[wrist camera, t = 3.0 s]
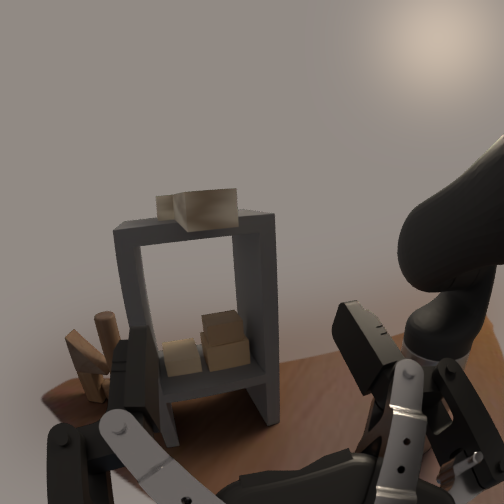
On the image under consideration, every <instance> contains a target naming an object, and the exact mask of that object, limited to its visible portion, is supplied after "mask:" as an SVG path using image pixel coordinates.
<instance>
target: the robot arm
mask: <svg viewBox="0 0 504 504" xmlns="http://www.w3.org/2000/svg"><path fill="white" fill-rule="evenodd" d="M397 254H398V261H399V265H400V268H401V271H402V273H403V275H404V277H405V278H406V280H407V281H408V282H409V283H410V284H411V285H412V286H413V287H415V288H416V289H418V290H421V291H424V292H441V293H440V294H439V295H438V296H437V297H436V298H435V299H434V300H432V301H431V302H430V303H428V304H426V305H425V306H423V307H421V308H419V309H417V310H416V311H415V312H413V313H412V314H411V315H410V317H409V318H408V320H407V323H406V327H405V332H404V338H403V343H402V349H401V351H400V350H399V348H398V347H397V345H396V344H395V342H394V341H393V339H392V338H391V336H390V335H389V334H388V333H387V331H386V329H385V328H384V327H383V325H382V323H381V322H380V321H379V319H378V318H377V317H376V316H375V315H374V314H373V313H372V312H370V311H369V310H364V308H363V307H362V306H361V304H360V303H359V302H358V301H357V300H354V301H349V302H343V303H340V304H339V307H338V310H337V313H336V316H335V319H334V323H333V325H332V336H333V339H334V341H335V343H336V345H337V347H338V349H339V350H340V352H341V354H342V356H343V358H344V360H345V362H346V364H347V366H348V368H349V370H350V372H351V373H352V375H353V377H354V379H355V381H356V383H357V385H358V387H359V389H360V391H361V393H362V395H363V396H365V395H368V394H370V393H372V394H373V396H374V397H373V399H372V402H371V406H370V411H369V415H368V419H367V423H366V427H365V431H364V434H363V436H362V439H361V440H360V442H359V444H358V446H357V448H356V451H355V453H351V452H350V450H349V448H347V449H344V450H342V451H339V452H336V453H333V454H330V455H326V456H324V457H322V458H320V459H319V460H317V461H315V462H313V463H312V464H310V465H308V466H306V467H304V468H303V469H300V470H295V471H264V472H258V473H253V474H247V475H241V476H239V480H238V481H236V482H233V483H231V484H229V485H227V486H226V487H225V488H223V489H222V490H220V491H219V492H218V493H217V494H216V495H214V494H213V493H212V492H210V491H209V490H208V489H207V488H206V487H204V486H203V485H202V484H201V483H200V482H199V481H197V480H196V479H195V478H194V477H193V476H192V475H191V474H190V473H189V472H187V471H186V470H185V469H184V468H183V467H182V466H181V465H180V464H179V463H178V462H177V461H176V460H174V459H173V458H172V457H171V456H169V455H168V454H167V453H166V452H165V451H164V450H163V449H162V448H161V446H160V445H159V444H158V443H157V442H156V441H155V440H154V433H158V432H161V429H160V411H159V385H158V356H157V350H156V346H155V343H154V340H153V337H152V333H151V330H150V327H149V325H144V326H131V327H130V332H129V340H119V342H118V343H117V345H116V347H115V348H114V350H113V357H112V366H111V375H110V385H109V397H108V408H107V411H106V413H105V414H104V415H103V416H102V418H101V419H100V420H99V421H97V422H95V423H93V424H89V425H86V426H82V427H78V428H75V427H73V426H72V425H70V424H67V423H60V424H57V425H55V426H54V427H52V429H51V430H50V431H49V434H48V439H47V496H48V504H114V499H113V492H112V483H111V475H110V474H111V473H110V470H114V469H118V468H121V467H125V466H126V468H127V469H128V470H129V471H130V472H131V473H132V475H133V476H134V477H135V478H136V479H137V481H138V483H139V485H140V486H141V487H142V488H143V490H144V491H145V492H146V493H147V494H148V495H149V496H150V497H151V498H152V499H153V500H154V501H155V502H156V503H157V504H467V503H468V502H469V501H471V500H472V499H473V498H475V497H476V496H477V495H478V494H480V493H481V492H483V491H485V490H487V489H489V488H491V487H493V486H495V485H497V484H499V483H501V482H502V481H504V443H503V440H502V438H501V436H500V434H499V432H498V430H497V429H496V427H495V425H494V423H493V421H492V419H491V417H490V415H489V413H488V412H487V410H486V408H485V406H484V404H483V403H482V401H481V399H480V397H479V396H478V394H477V392H476V391H475V389H474V387H473V386H472V384H471V382H470V381H469V379H468V377H467V376H466V374H465V373H464V369H465V366H466V363H467V360H468V357H469V353H470V350H471V347H472V343H473V340H474V339H475V337H476V336H477V335H478V333H479V332H480V330H481V328H482V326H483V323H484V320H485V316H486V312H487V308H488V305H489V300H490V296H491V292H492V288H493V283H494V279H495V273H496V267H497V265H503V264H504V134H503V135H502V136H501V137H500V138H499V139H498V140H497V141H496V142H495V143H494V144H493V145H492V146H491V147H490V148H489V149H488V150H487V151H486V152H485V153H484V154H483V155H482V156H481V157H480V158H479V159H478V160H477V161H476V162H475V163H474V164H473V165H472V166H471V167H470V168H469V169H468V170H467V171H466V172H465V173H464V174H463V175H461V176H460V177H459V178H458V179H456V180H455V181H454V182H452V183H451V184H450V185H448V186H447V187H445V188H444V189H442V190H441V191H439V192H438V193H436V194H435V195H433V196H432V197H430V198H428V199H427V200H425V201H424V202H422V203H421V204H419V205H418V206H416V207H415V208H414V209H413V210H412V212H411V213H410V214H409V215H408V217H407V218H406V220H405V222H404V224H403V226H402V229H401V232H400V235H399V240H398V252H397ZM449 409H450V410H451V412H452V414H453V421H452V420H451V418H450V416H449V414H448V411H449ZM430 447H432V449H433V451H434V454H435V456H436V458H437V460H438V463H439V465H440V467H441V468H440V472H439V474H438V476H437V478H436V480H437V482H438V483H439V484H440V487H437V486H435V485H433V484H430V483H428V482H426V481H424V480H421V479H419V478H418V477H419V473H420V467H421V462H422V456H423V454H424V453H425V452H426V451H428V450H429V449H430Z"/></svg>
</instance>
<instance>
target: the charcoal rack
mask: <svg viewBox="0 0 504 504" xmlns="http://www.w3.org/2000/svg"><path fill="white" fill-rule="evenodd" d="M238 223H239V227H232V228H222V229H213V230H203V231H194V232H187V231H186V230H185V229H184V228H183V227H182V226H181V225H180V224H179V223H178V222H177V221H175V220H174V219H173V220H163V221H158V218H149V219H140V220H133V221H125V222H123V223H122V224H120V225H119V226H118V227H116V228H115V229H114V230H113V235H114V243H115V251H116V258H117V265H118V271H119V277H120V283H121V289H122V293H123V299H124V304H125V309H126V314H127V318H128V323H129V327H131V326H144V325H149V327H150V330H151V333H152V337H153V340H154V343H155V346H156V350H157V356H158V385H159V411H160V429H161V434H162V436H163V439H164V441H165V444H166V446H167V448H168V447H175V446H180V444H179V440H178V435H177V431H176V426H175V421H174V415H173V410H172V405H171V402H178V401H184V400H190V399H196V398H201V397H206V396H211V395H216V394H221V393H226V392H230V391H235V390H239V389H243V388H246V390H247V392H248V393H249V395H250V397H251V399H252V400H253V402H254V404H255V405H256V407H257V409H258V411H259V412H260V414H261V416H262V417H263V419H264V421H265V422H266V424H267V425H268V426H269V425H273V424H276V423H279V422H280V395H279V329H278V328H279V326H278V289H277V259H276V235H275V234H276V233H275V214H274V213H266V212H259V211H252V210H244V209H242V210H241V209H240V210H238ZM231 235H232V243H233V257H234V271H235V284H236V298H237V311H238V314H237V312H236V311H235V310H231V311H225V312H219V313H213V314H207V315H202V323H203V331H204V332H201V333H200V336H201V343H202V344H200V345H196V344H195V341H194V339H193V338H190V339H184V340H177V341H171V342H163V343H162V345H163V350H162V351H158V348H157V343H156V338H155V334H154V329H153V324H152V319H151V313H150V308H149V302H148V297H147V291H146V284H145V279H144V271H143V264H142V257H141V249H140V246H145V245H152V244H161V243H169V242H178V241H187V240H195V239H204V238H213V237H222V236H231Z"/></svg>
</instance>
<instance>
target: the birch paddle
mask: <svg viewBox="0 0 504 504" xmlns="http://www.w3.org/2000/svg"><path fill="white" fill-rule="evenodd" d="M156 205H157V218H158V221H163V220H173V219H174V220H175V221H177V222H178V223H179V224H180V225H181V226H182V227H183V228H184V229H185V230H186V231H187V232H194V231H203V230H213V229H222V228H232V227H239V223H238V207H237V191H236V188H234V189H218V190H204V191H192V192H183V193H178V194H174V195H165V196H156Z"/></svg>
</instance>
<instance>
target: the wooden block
mask: <svg viewBox="0 0 504 504" xmlns="http://www.w3.org/2000/svg"><path fill="white" fill-rule="evenodd" d="M94 320H95V324H96V328H97V332H98V336H99V339H100V343H101V346H102V349H103V353H104V355H103V354H101V353H100V352H99V351H98V350H97V349H95V348H94V347H93V346H92V345H91V344H90V343H89V342H88V341H87V340H85V339H84V338H83V337H82V336H81V335H80V334H79V333H78V332H77V331H76V330H75V329H74V330H72V331H71V332H70V333H69V334H68V335H67V336H66V337H65V340H66V343H67V346H68V349H69V352H70V355H71V358H72V361H73V364H74V367H75V369H76V371H77V374H78V377H79V379H80V382H81V384H82V387H83V389H84V391H85V394H86V396H87V398H88V400H89V401H92V402H98V403H103V402H104V401H105V399H106V398H107V399H108V397H109V385H110V380H107V379H105V380H104V378H103V375H108V373H109V372H110V374H111V366H112V357H113V350H114V348H115V347H116V345H117V343H118V342H119V340H121V339H120V336H119V331H118V327H117V323H116V318H115V314H114V313H113V312H109V311H105V312H101V313H98V314H96V315H95V317H94Z"/></svg>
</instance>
